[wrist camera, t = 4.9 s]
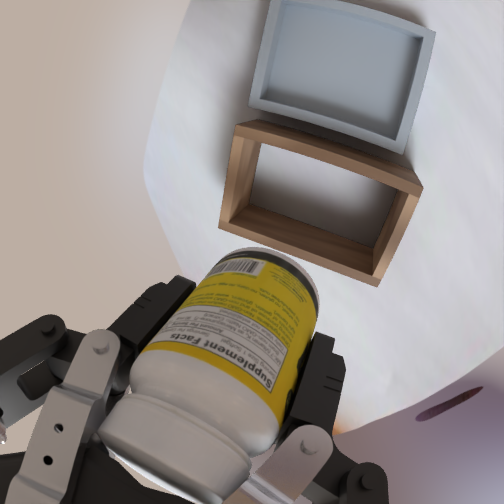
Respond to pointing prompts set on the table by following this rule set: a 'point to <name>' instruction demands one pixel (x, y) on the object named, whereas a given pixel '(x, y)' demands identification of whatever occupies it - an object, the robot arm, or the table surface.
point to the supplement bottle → (217, 377)
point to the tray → (342, 69)
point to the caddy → (303, 235)
